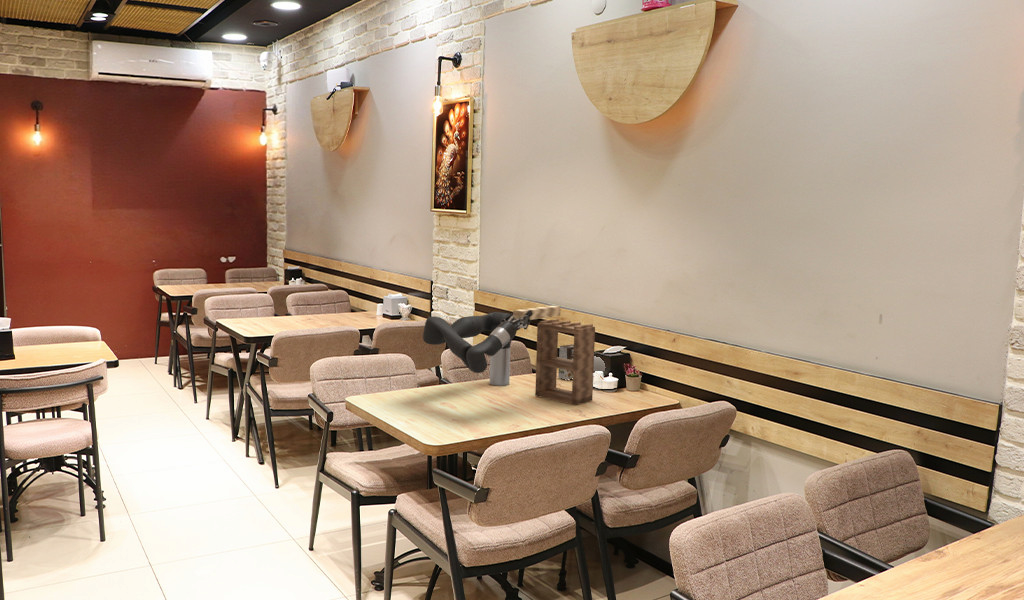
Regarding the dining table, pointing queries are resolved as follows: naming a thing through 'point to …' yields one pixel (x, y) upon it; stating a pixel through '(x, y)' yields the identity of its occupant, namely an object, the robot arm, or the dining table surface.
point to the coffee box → (566, 353)
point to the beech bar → (538, 312)
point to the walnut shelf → (565, 361)
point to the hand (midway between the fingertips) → (527, 311)
